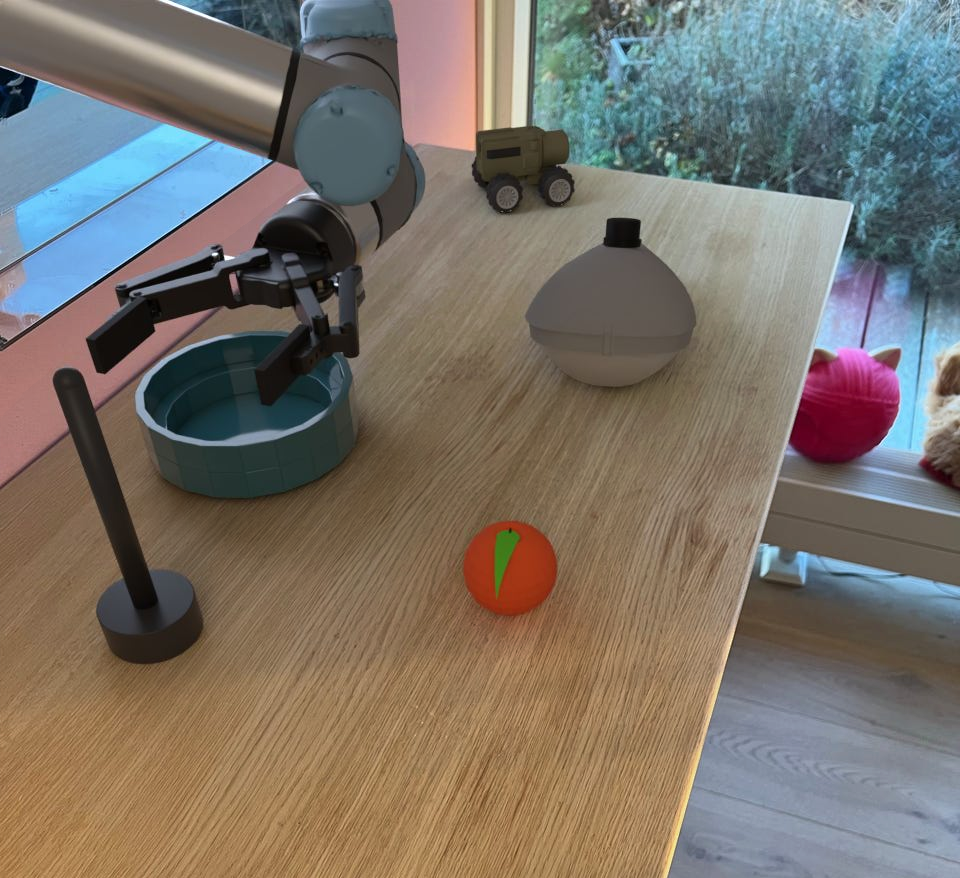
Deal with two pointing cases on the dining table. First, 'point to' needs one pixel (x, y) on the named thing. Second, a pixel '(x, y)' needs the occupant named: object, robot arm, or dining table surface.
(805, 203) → the dining table surface
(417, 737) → the dining table surface
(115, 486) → the black peg stand
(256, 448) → the bowl
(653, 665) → the dining table surface
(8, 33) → the robot arm
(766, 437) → the dining table surface
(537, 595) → the clementine
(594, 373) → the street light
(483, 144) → the toy vehicle
